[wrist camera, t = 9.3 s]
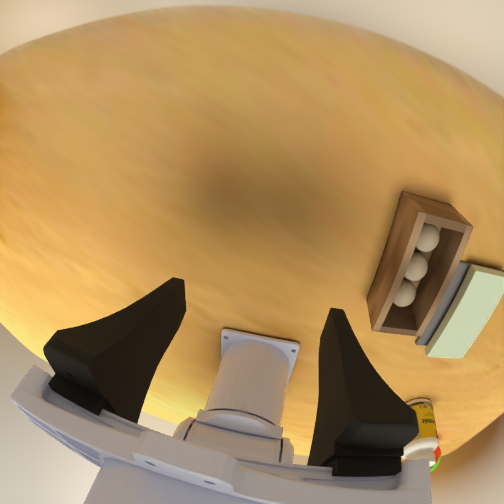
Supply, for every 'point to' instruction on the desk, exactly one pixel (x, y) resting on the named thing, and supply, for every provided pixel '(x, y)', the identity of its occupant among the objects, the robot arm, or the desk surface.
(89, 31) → the desk surface
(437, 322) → the mat
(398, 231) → the box
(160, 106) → the desk surface
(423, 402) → the supplement bottle
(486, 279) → the lid
